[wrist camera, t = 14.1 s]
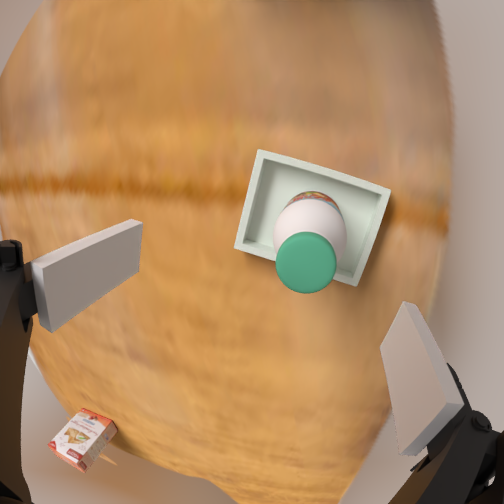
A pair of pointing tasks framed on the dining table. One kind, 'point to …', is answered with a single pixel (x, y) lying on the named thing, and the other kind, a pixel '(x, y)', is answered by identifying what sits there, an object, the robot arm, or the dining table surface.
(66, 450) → the cracker box
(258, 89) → the dining table surface
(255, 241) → the tray
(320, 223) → the milk bottle
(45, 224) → the dining table surface
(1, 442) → the robot arm
